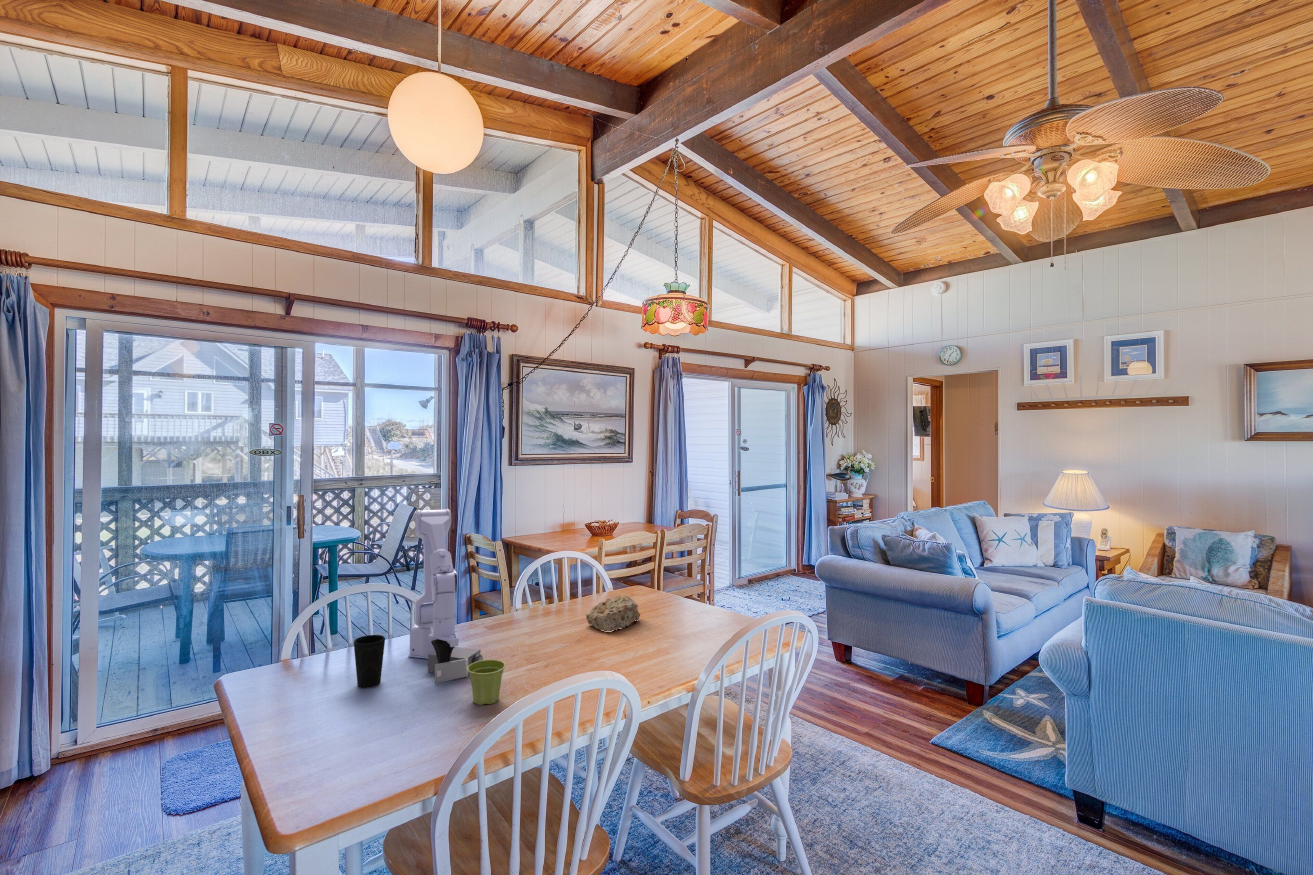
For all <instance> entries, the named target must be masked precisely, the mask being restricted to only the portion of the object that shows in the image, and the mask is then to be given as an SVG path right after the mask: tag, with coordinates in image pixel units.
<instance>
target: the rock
mask: <svg viewBox="0 0 1313 875" xmlns="http://www.w3.org/2000/svg"><path fill="white" fill-rule="evenodd" d="M638 607H639V605H638V603H637V602H636V601H635V600H633V599H632V598H630V596H627V595H617V596H614V597H612V598H607V599H606V600H605V601H601V602H600V603H599V602H598V604H596V605H595V606H593V607H591V610H590V611H589V613H585V616H586V619H585V620H586V621H587V624H589V626H590V625H592V627H594V628H595V629H596V628H597V630H598V629H600V630H604V631H612V630H616V629H619V628H623V627H624V628H626V627H625V626H628V627H629V625H630V624H631V623H632V624H633V623H634V621H635V620H636V621H637V620H638V619H640V617H641V613H640V612H639V608H638ZM638 621H639V620H638ZM632 624H631V625H632ZM631 625H630V626H631ZM624 628H623V629H624ZM600 630H599V631H600ZM616 631H617V630H616Z"/></svg>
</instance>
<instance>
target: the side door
mask: <svg viewBox="0 0 1313 875" xmlns="http://www.w3.org/2000/svg"><path fill="white" fill-rule="evenodd" d="M467 667H468V659H462V660H456V661H450V662H445V663H439V664H435V673H434V683H437V684H438V683H441V682H446V681H452V680H457V679H461V678H462V679H463V678H467V677H469V675H468V671H467Z"/></svg>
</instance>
